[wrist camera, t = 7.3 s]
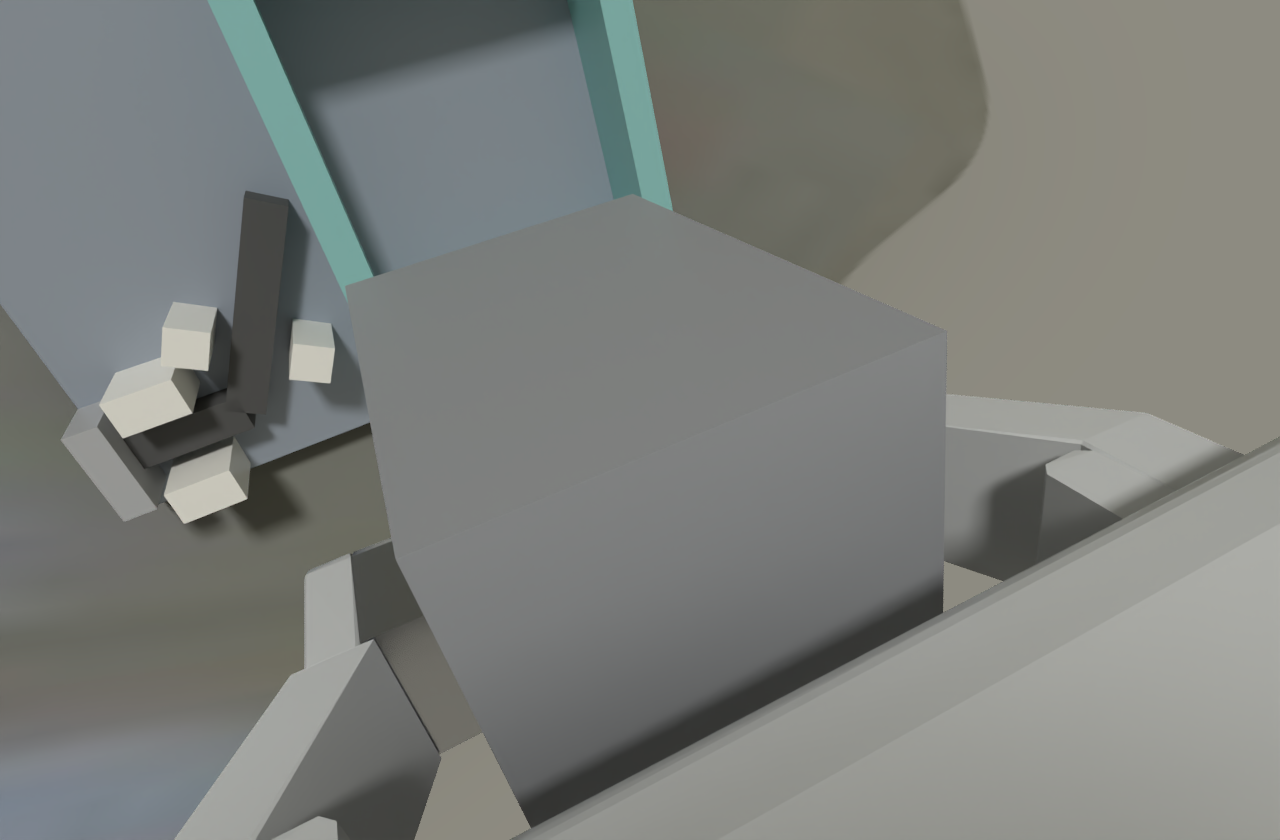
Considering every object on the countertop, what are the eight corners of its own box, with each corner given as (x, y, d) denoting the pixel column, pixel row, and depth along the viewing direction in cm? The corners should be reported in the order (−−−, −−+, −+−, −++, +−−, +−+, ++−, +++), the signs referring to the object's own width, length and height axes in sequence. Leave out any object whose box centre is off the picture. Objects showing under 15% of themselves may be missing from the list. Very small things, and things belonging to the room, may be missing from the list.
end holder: (198, -35, 20) (186, -45, 17) (571, -119, 22) (605, -138, 20) (376, 351, 26) (384, 383, 24) (650, 251, 29) (684, 271, 26)
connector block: (340, 287, 9) (387, 572, 4) (636, 192, 10) (963, 333, 5) (487, 618, 12) (616, 1014, 7) (703, 523, 13) (949, 812, 8)
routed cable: (102, 447, 24) (95, 465, 23) (250, 177, 23) (248, 184, 22) (217, 485, 26) (214, 502, 25) (360, 239, 24) (363, 248, 24)
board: (-180, 30, 18) (-266, 29, 16) (586, -139, 23) (627, -164, 20) (154, 492, 26) (138, 547, 23) (674, 293, 31) (713, 319, 28)
